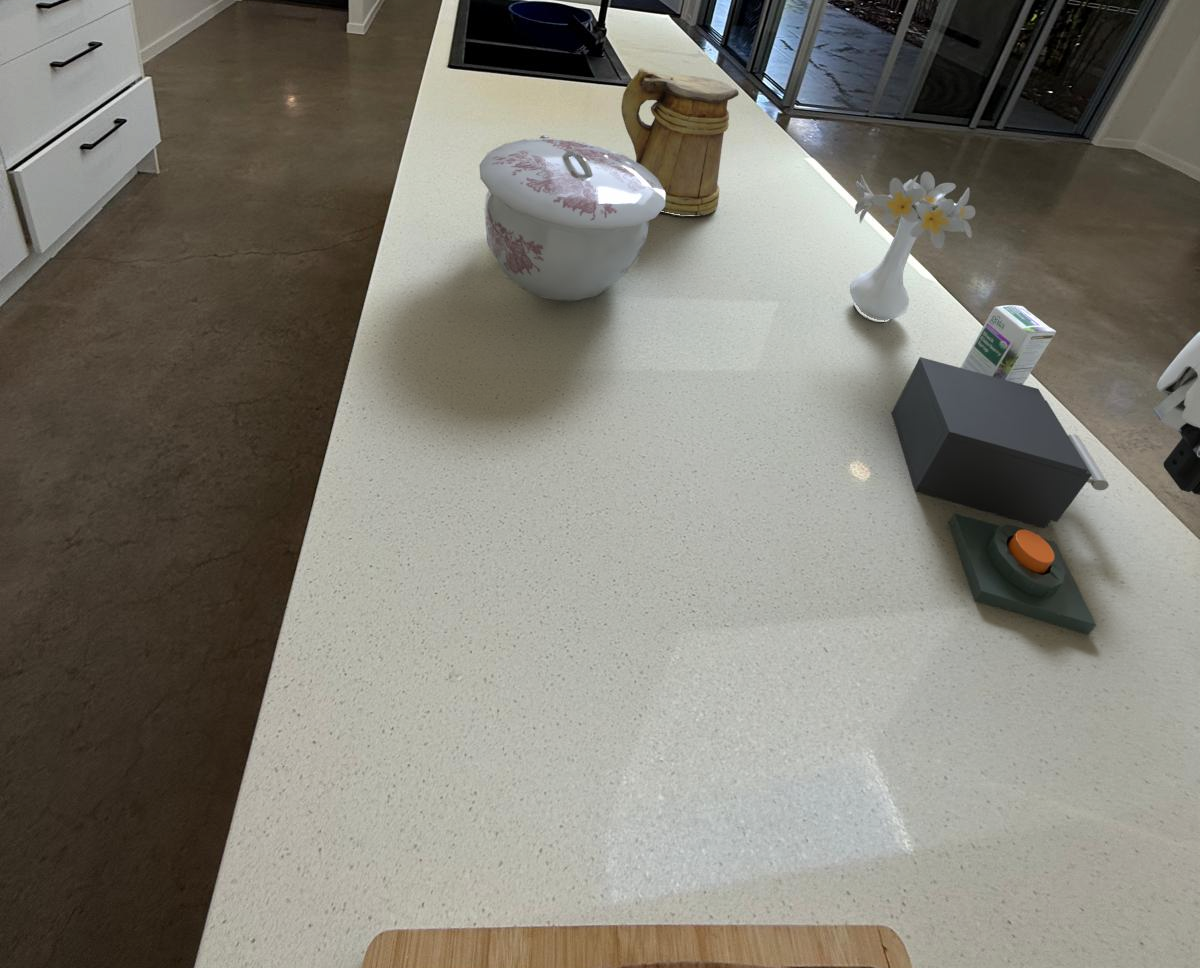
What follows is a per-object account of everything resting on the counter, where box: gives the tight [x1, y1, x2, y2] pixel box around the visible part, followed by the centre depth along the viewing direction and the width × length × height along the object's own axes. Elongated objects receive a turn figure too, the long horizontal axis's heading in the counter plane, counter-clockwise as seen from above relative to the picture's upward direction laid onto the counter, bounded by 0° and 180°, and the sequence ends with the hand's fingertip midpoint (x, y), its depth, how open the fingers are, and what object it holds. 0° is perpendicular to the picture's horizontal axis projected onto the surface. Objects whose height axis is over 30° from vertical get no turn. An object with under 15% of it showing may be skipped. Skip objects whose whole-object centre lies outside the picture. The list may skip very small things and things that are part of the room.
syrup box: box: [959, 304, 1057, 385], centre depth 91 cm, size 6×6×14 cm
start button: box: [1008, 529, 1055, 573], centre depth 67 cm, size 4×4×2 cm
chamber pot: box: [478, 134, 666, 302], centre depth 98 cm, size 28×28×21 cm
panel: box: [947, 512, 1097, 636], centre depth 68 cm, size 11×9×4 cm
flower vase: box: [849, 171, 976, 321], centre depth 104 cm, size 13×18×25 cm
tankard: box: [621, 68, 740, 216], centre depth 128 cm, size 18×24×25 cm
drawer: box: [1045, 399, 1110, 523], centre depth 79 cm, size 18×12×8 cm, turn 79°
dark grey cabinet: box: [890, 356, 1088, 529], centre depth 79 cm, size 15×13×10 cm
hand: (1181, 480), depth 61 cm, fingers closed
